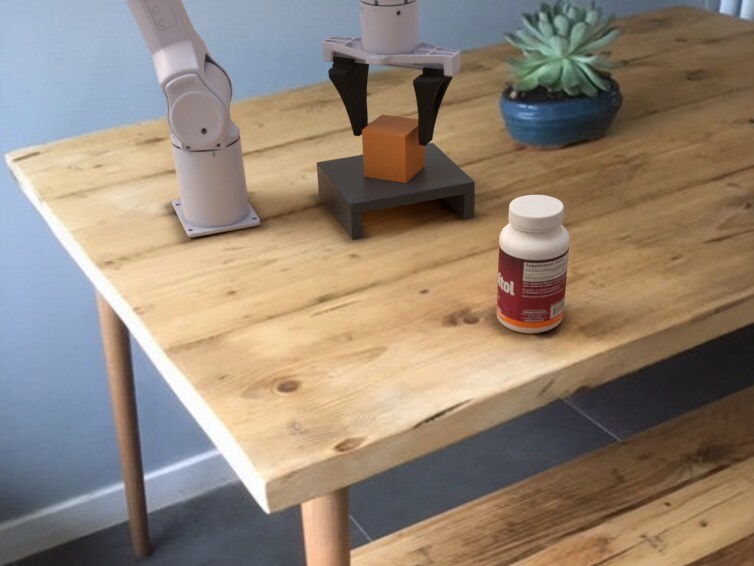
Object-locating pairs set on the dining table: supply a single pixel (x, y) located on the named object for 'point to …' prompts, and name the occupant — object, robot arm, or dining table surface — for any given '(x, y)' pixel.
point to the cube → (392, 149)
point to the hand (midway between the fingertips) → (392, 137)
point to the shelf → (391, 188)
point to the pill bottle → (532, 265)
